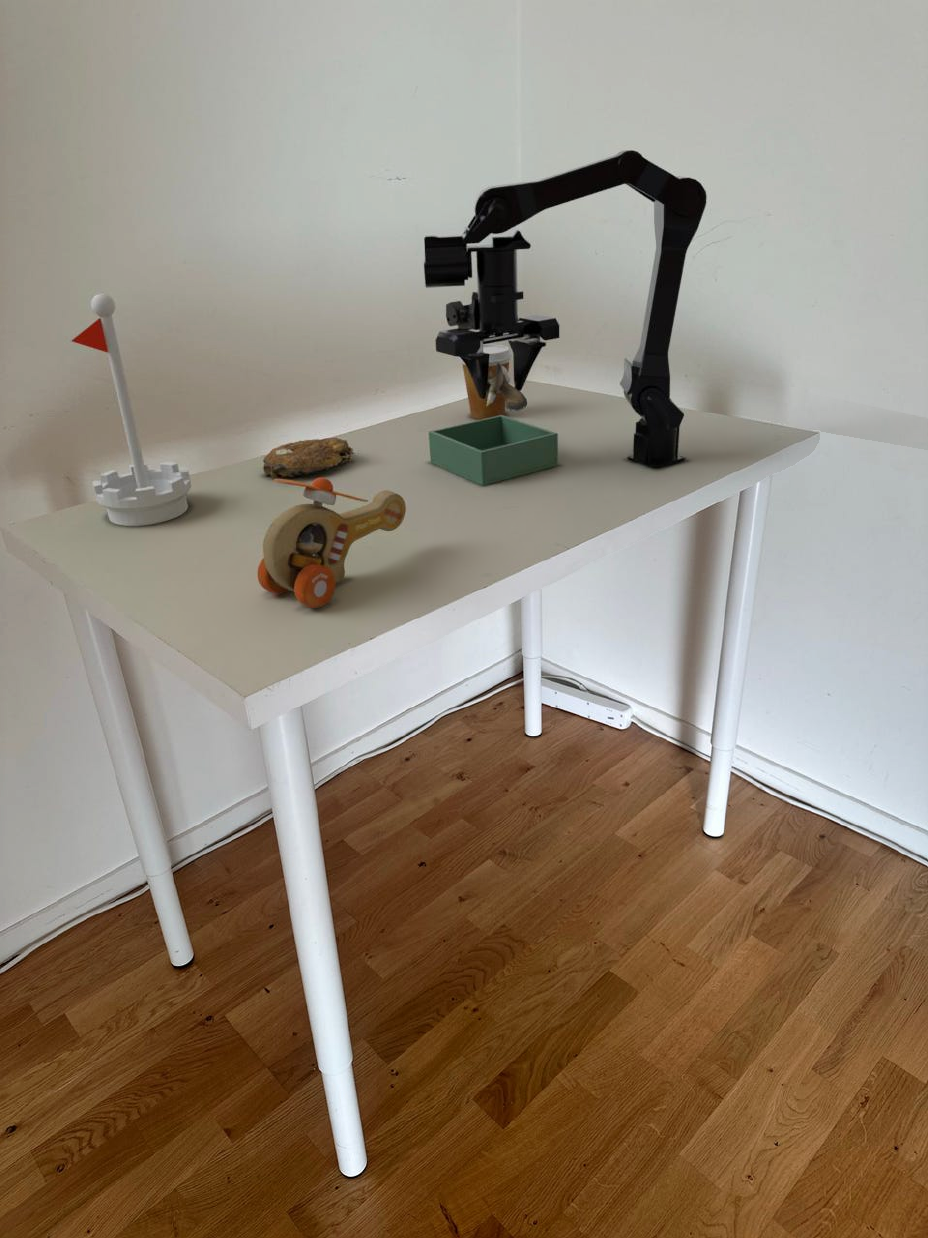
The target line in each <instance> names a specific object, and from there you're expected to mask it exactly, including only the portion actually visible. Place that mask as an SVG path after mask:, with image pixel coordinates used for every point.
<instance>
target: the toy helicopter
mask: <svg viewBox="0 0 928 1238" xmlns="http://www.w3.org/2000/svg"><path fill="white" fill-rule="evenodd" d="M273 481H274V482H276V483H280V484H283V485H291V486H296V487H297V486H298V487H304V489H303V494H302V496H303V497H304V498H306V499H309V500H311V501H313V503H302V504H301V503H300V504H297V505H294V506H292V507H289V508H288V509H286V510H284V511H283V512H281V513H280V514H279V515H278V516H277V517H276V518H274V520H272V522H271V523H270V524H269V526H268V528H267V530H266V533H265V534H264V538H263V543H262V556H263V558H262V559H261V560H260V562H259V564H258V567H257V581H258V583H259V585H260V586H261V588H263V589H264V590H265V591H267V592H270V593H272V594H275V595H280V594H284V593H286V592H288V591H290V592H293V593H294V596H295V598H296V600H297V601H298V603H300V604H301V605H303V606H306V607H309V608H312V609H317V608H318V609H319V608H322V607H323V606H325V605H326V604H327V603H328V602H330V600H331V599H332V597H333V595H334V594H335V593H334V592H335V590H336V584H337V583H339V582H341V581H342V580H343V579H344V577H345V574H346V571H345V570H346V569H345V560H346V558H347V556H348V554H349V550H350V548H351V546H352V544H354V543H355V542H357V541H358V540H359V539H362V538H364V537H365V536H368V535H370V534H373V533H375V532H376V531H378V530H381V531H384V532H392V531H394V530H397V529H398V528H399V527H400V526H401V524H402V523H403V521H404V520H405V516H406V512H407V509H406V508H407V507H406V506H407V505H406V502H405V499H404V498H403V496H402V495H400V494H399V493H396V492H393V491H391V490H389V489H388V490H387V489H386V490H381V491H379V492H378V493H377V494H376V495H374V497H373V498H372V500H371V501H370V502H369V500H368V499H364V498H360V497H357V496H353V495H349V494H346V493H342V492H338V491H334V485H333V483H332V482H331V480H330V479H328V478H325V477H317V478H315V479H314V480H313V481H312V483H311V484H309V483H306V482H302V481H297V480H293V479H286V478H285V479H284V478H273ZM337 496H340V497H343V498H347V499H351V500H355V501H359V502H364V503H365V502H366V503H367V502H369V503H368V504H366V505H362V506H360V507H359V506H358V507H357V508H354V509H350V510H347V511H345V512H342V513H337V512H336V511H335V510H332V509H330V508H328V507H325V506H323V504H324V505H329V506H334V505H335V504H336V500H337Z"/></svg>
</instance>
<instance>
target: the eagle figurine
mask: <svg viewBox="0 0 928 1238" xmlns="http://www.w3.org/2000/svg"><path fill="white" fill-rule="evenodd" d="M467 373H468V375H469V376H470V378H472V377H471V375H470V372H469V371H467ZM510 382H511V378H510V373H509V372H507V369H506V368H505V367H503V366H502V365H500V364H499V363H497V367H496V377H494V378H493V373H492V372H490V376H489V378H488V385H487V395H488V401H487V405H486V406H488V405H489V404H490V403H492V402H493V401H494V399H495V397H496V396H497V395H498V394H502V395H503V397H504V399H505V410H509V411H515V412H518V411H519V412H520V411H521V410H524V409H525V408H527V406H528V400H527V398H526V396H525V395H524V394H523V392H521V391H519V390H518V389H516V388H515V386H513V385H511V384H510Z"/></svg>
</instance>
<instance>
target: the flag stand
mask: <svg viewBox="0 0 928 1238" xmlns="http://www.w3.org/2000/svg"><path fill="white" fill-rule="evenodd" d="M90 306H91V309H92V312H93V313H95V315H97V316H98V317H99V318H97V319H96V320H95V321H94V322H93V323H91V324H90V325H89V326H88V327H87V328H84V330H83V331H82V332H80V333H79V334H78V335H76V336H75V337H74V338H73V339H72V340H71V342H72V343H75V344H78V345H81V346H85V347H89V348H91V349H95V350H98V351H101V352H103V353H107V355H108V360H109V365H110V370H111V373H112V374H111V375H112V378H113V383H114V387H115V388H114V389H115V391H116V395H117V401H118V405H119V409H120V410H119V411H120V413H121V414H120V415H121V418H122V423H123V427H124V431H125V437H126V440H127V441H126V442H127V445H128V450H129V454H130V458H131V462H132V464H129V465H128V468H129V473H124V474H120V475H119V473H118V470H114V469H111V470H108V471H106V472H103V473H101V474H99V477H100V480H93V481H92V487H93V491H94V495H95V499H96V502H97V504H99V505H101V506H102V507H104V508H106V511H107V515H108V520H109V521H110V522H111V523H112V524H115V525H119V526H126V527H140V526H148V525H150V526H151V525H155V524H160V523H163V522H168V521H171V520H173V519H175V518H178V517H180V516H181V515H183V514H184V513H186V511H187V510H188V508H189V505H188V500H187V493H188V492H189V491H190V490H191V489H192V481H191V477H190V471H189V468H188V467H187V466H182V467H179V465H178V463H177V462H171V461H163V462H161V463H160V464H159V466H160V469H159V468H157V469H149V467H148V463H147V462H145V461H144V457H143V453H142V448H141V444H140V439H139V434H138V430H137V424H136V421H135V416H134V411H133V407H132V403H131V398H130V397H131V396H130V393H129V388H128V384H127V379H126V375H125V371H124V370H125V369H124V365H123V359H122V357H121V351H120V346H119V343H118V338H117V333H116V329H115V324H114V320H113V319H114V318H113V314H114V313H115V311H116V302H115V301H114V298H113V297H111V296H110V295H108V294H106V293H98V294H96V295H95V296H93V297H92V299H91V302H90Z"/></svg>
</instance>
